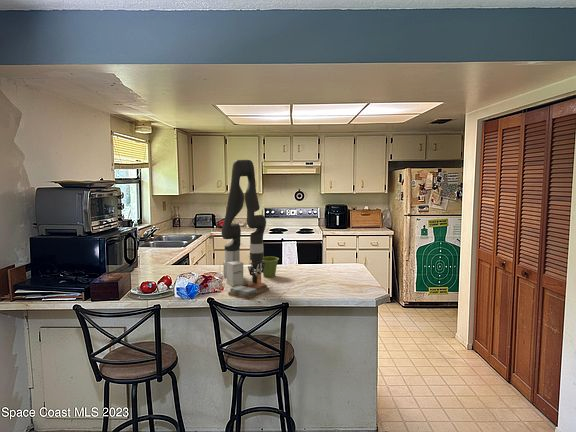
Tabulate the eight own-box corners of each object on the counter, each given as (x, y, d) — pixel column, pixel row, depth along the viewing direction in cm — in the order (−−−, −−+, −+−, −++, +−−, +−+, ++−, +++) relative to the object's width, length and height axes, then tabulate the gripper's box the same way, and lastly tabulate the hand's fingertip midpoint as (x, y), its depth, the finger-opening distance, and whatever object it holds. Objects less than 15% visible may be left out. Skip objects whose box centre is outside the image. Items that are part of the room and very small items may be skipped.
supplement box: (232, 286, 228) (232, 264, 226) (226, 283, 234) (226, 262, 232) (243, 284, 232) (243, 262, 231) (237, 281, 238) (237, 260, 236)
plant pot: (256, 277, 247) (256, 259, 245) (266, 273, 257) (266, 255, 256) (272, 279, 241) (272, 261, 240) (282, 275, 252) (282, 257, 250)
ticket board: (228, 294, 212) (228, 288, 211) (248, 286, 227) (248, 280, 227) (249, 299, 205) (249, 292, 204) (269, 290, 220) (269, 283, 220)
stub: (247, 286, 222) (247, 274, 221) (251, 284, 226) (251, 272, 225) (260, 288, 218) (260, 276, 217) (265, 286, 221) (265, 274, 220)
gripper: (258, 248, 228) (258, 277, 230) (243, 252, 216) (243, 283, 218) (269, 249, 224) (269, 279, 226) (254, 254, 212) (254, 285, 214)
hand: (256, 281), depth 222 cm, fingers closed on stub, 3 cm apart
